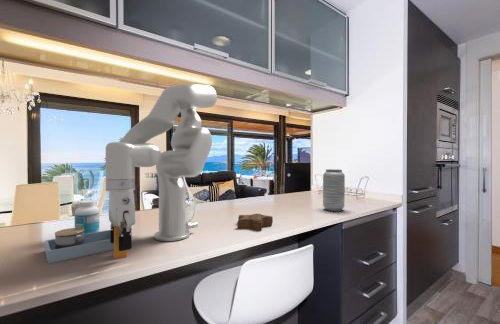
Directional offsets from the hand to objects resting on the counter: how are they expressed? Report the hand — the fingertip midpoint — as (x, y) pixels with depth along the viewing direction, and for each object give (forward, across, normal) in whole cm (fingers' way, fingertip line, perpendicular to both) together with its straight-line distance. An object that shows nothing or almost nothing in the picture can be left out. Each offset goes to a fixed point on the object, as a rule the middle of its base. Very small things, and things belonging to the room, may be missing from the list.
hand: (120, 245), depth 73 cm
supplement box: (+4, 0, 0) cm, 4 cm away
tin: (+3, +13, +10) cm, 17 cm away
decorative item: (+4, 0, -52) cm, 52 cm away
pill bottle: (+4, +26, +4) cm, 27 cm away
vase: (+4, -5, -110) cm, 110 cm away
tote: (+3, +13, +7) cm, 15 cm away
